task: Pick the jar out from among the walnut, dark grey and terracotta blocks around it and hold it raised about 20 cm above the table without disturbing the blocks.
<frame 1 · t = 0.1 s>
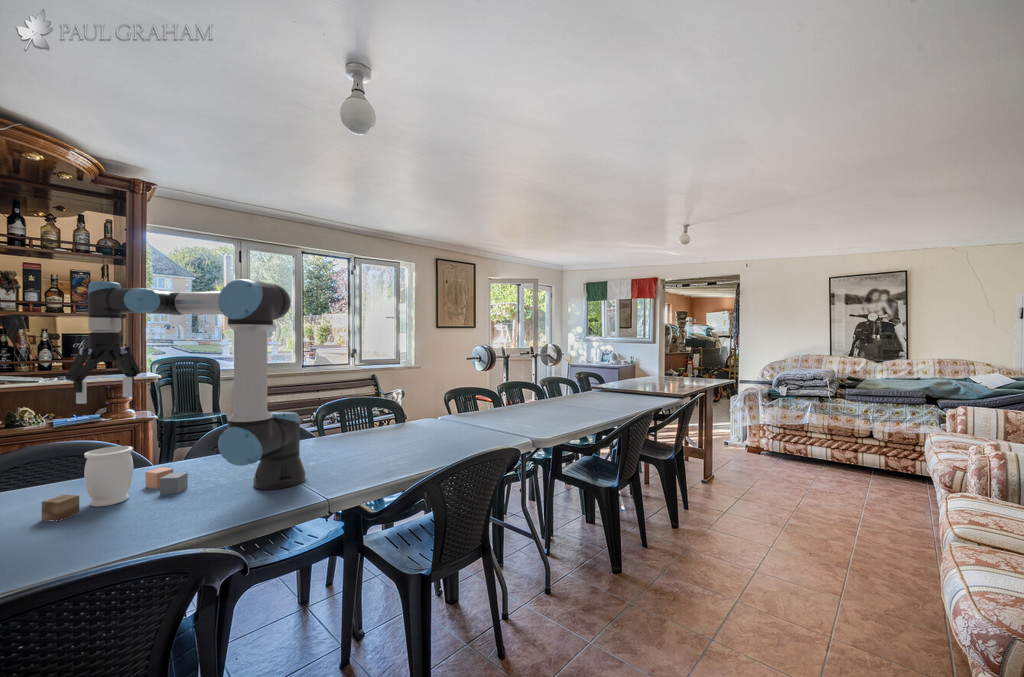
hand: (105, 400, 138), 28 cm above the table, tool pointing down, fingers open, 13 cm apart
walnut block: (60, 517, 118), on the table
grey block: (174, 491, 137), on the table
terracotta block: (159, 485, 142), on the table
jar: (109, 502, 128), on the table
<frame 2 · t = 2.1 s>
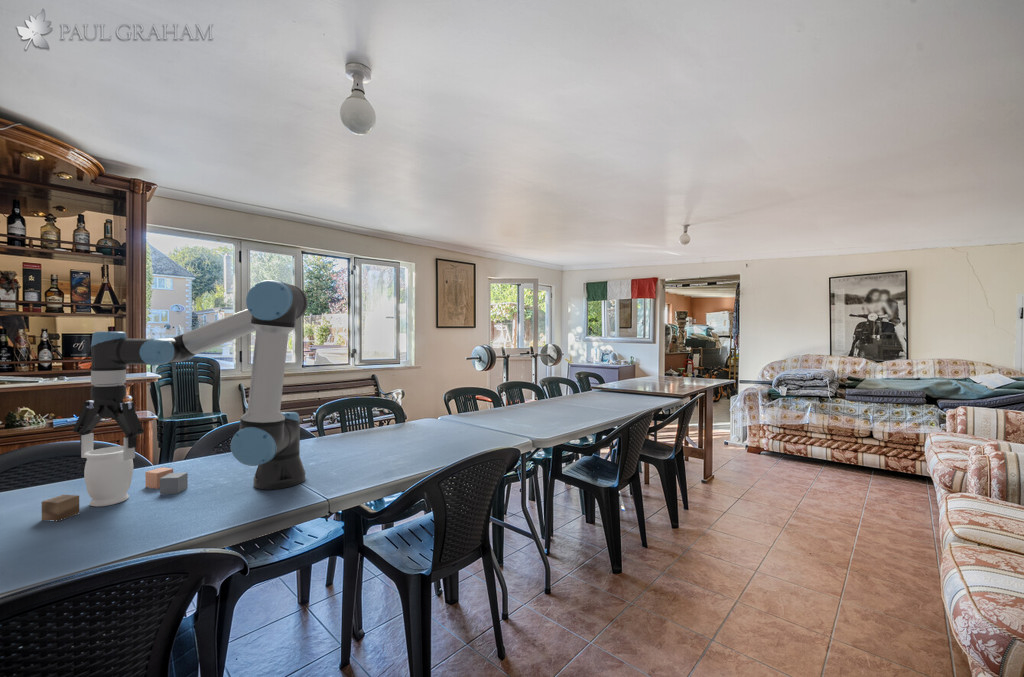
hand: (108, 458, 128), 13 cm above the table, tool pointing down, fingers open, 13 cm apart
nothing on the table moved.
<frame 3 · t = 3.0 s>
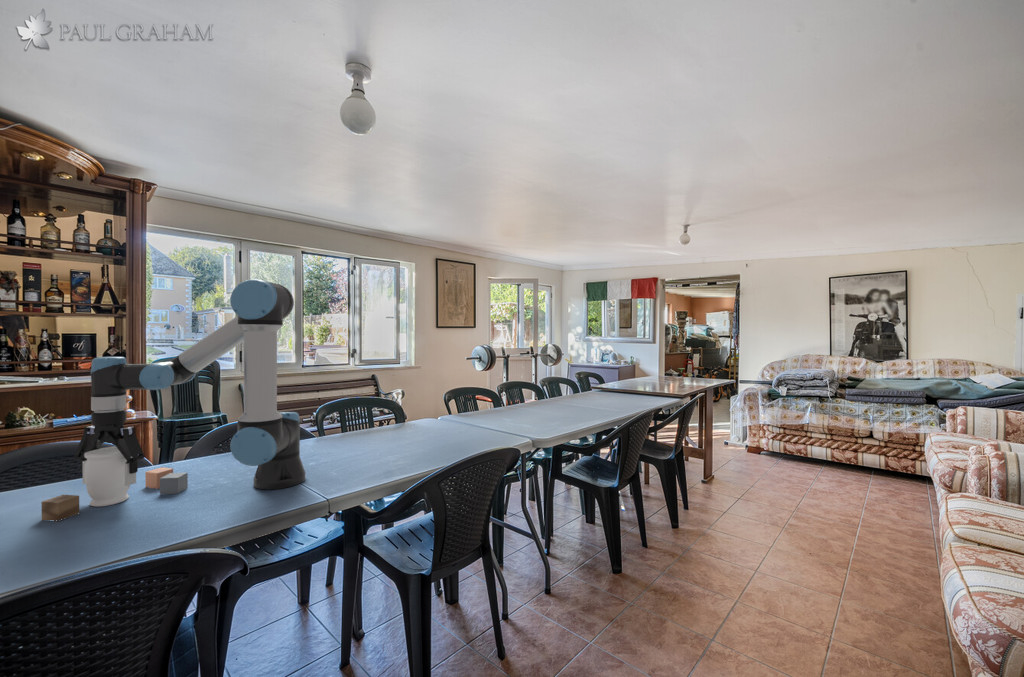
hand: (109, 483, 128), 5 cm above the table, tool pointing down, fingers open, 13 cm apart
nothing on the table moved.
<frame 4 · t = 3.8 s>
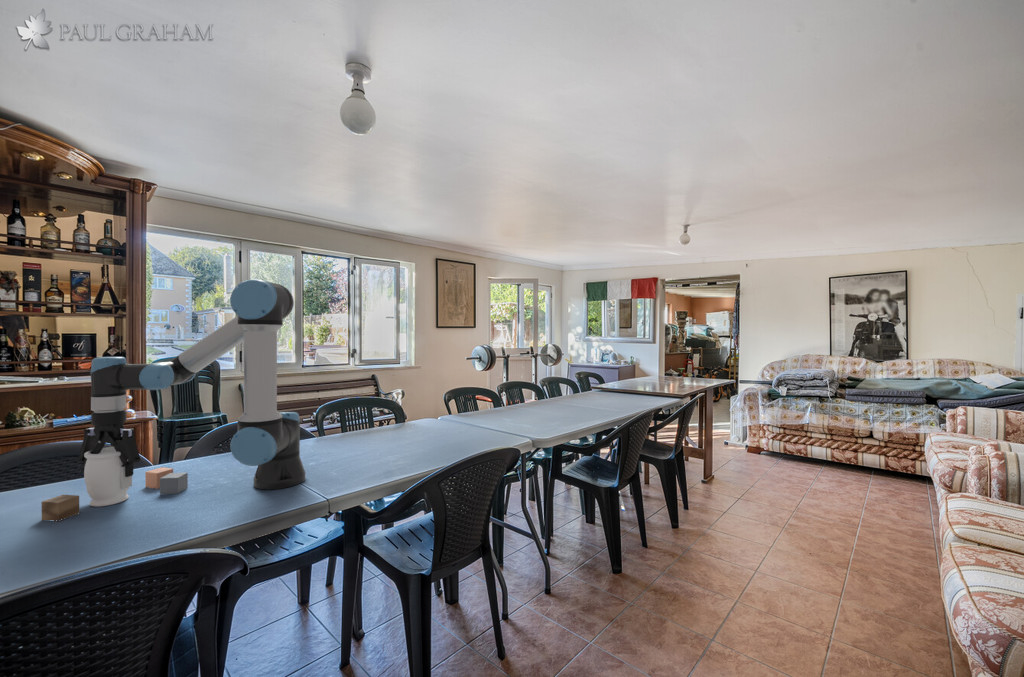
hand: (109, 486, 128), 4 cm above the table, tool pointing down, fingers closed on jar, 10 cm apart
jar: (109, 502, 128), on the table, touching gripper
everything else where it was.
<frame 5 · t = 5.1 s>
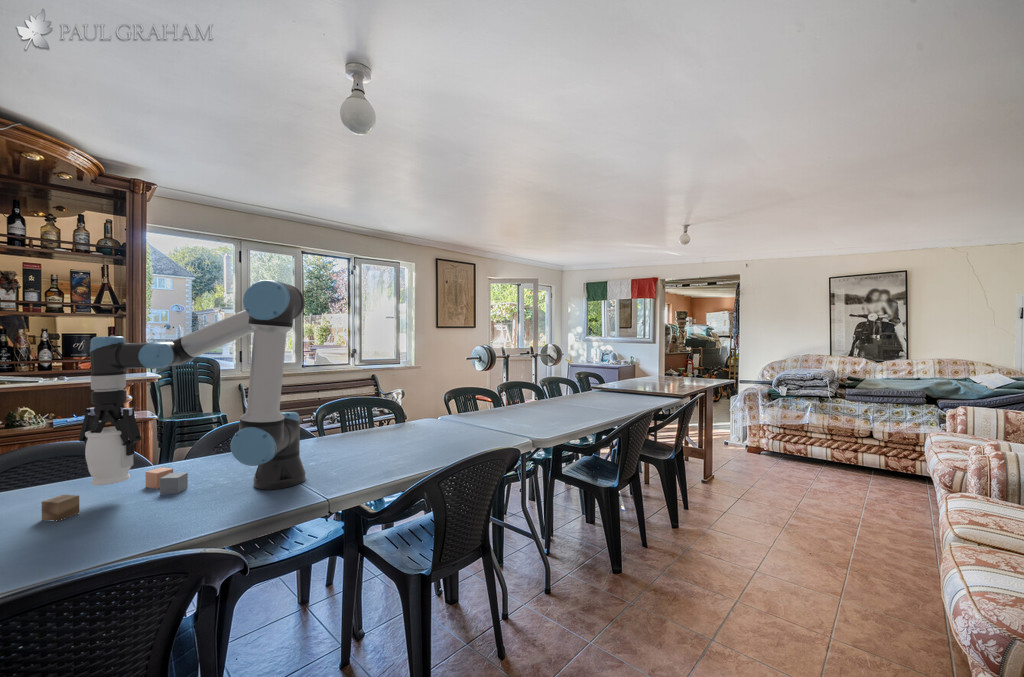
hand: (110, 466, 128), 10 cm above the table, tool pointing down, fingers closed on jar, 10 cm apart
jar: (111, 481, 128), point 6 cm above the table, touching gripper
everything else where it was.
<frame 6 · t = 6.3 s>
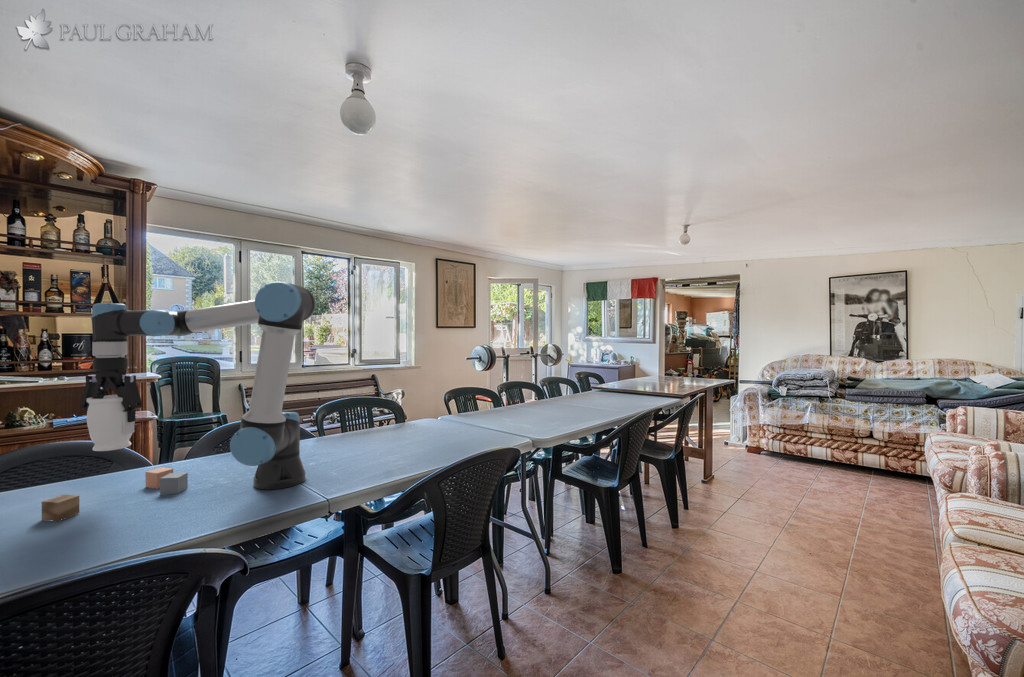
hand: (112, 432, 129), 20 cm above the table, tool pointing down, fingers closed on jar, 10 cm apart
jar: (112, 448, 129), point 15 cm above the table, touching gripper
everything else where it was.
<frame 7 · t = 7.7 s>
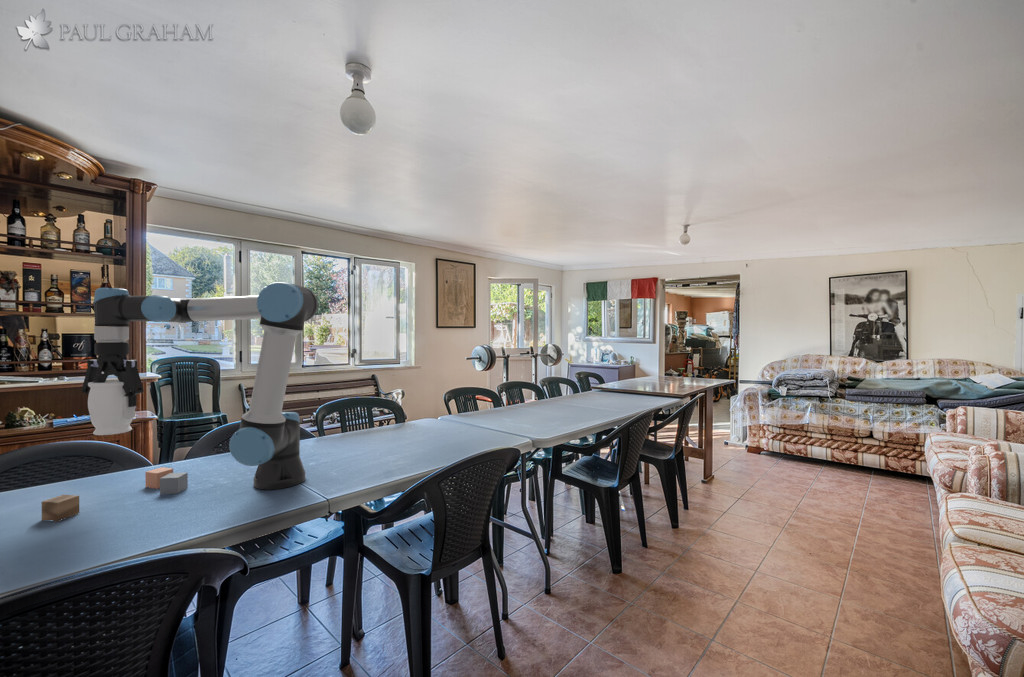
hand: (112, 417, 129), 24 cm above the table, tool pointing down, fingers closed on jar, 10 cm apart
jar: (113, 433, 129), point 20 cm above the table, touching gripper
everything else where it was.
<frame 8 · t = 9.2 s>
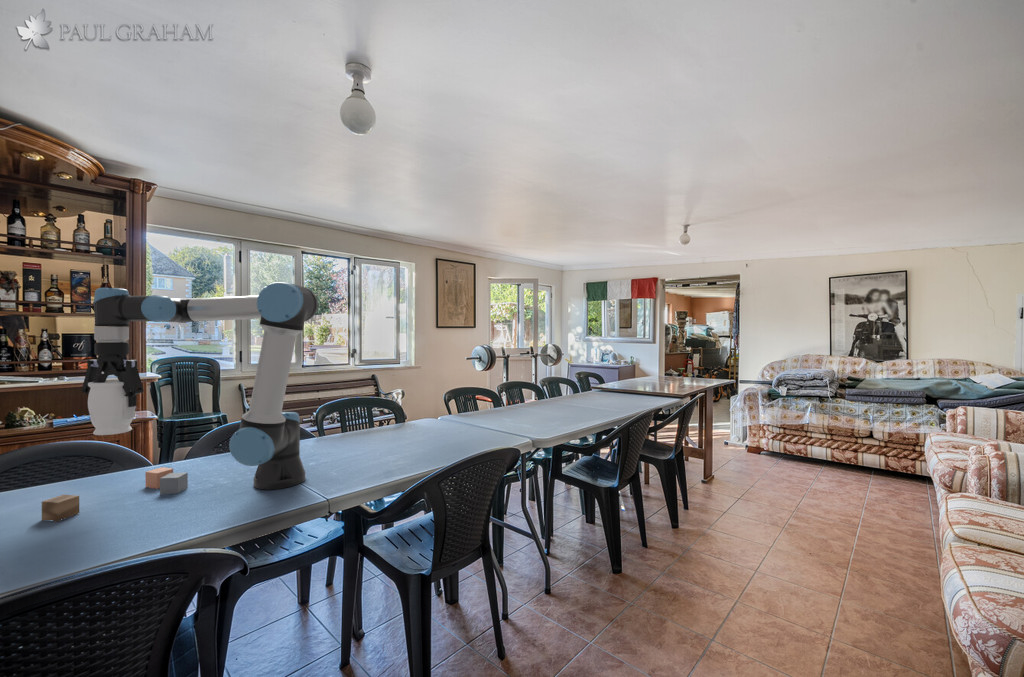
hand: (112, 417, 129), 24 cm above the table, tool pointing down, fingers closed on jar, 10 cm apart
jar: (113, 433, 129), point 20 cm above the table, touching gripper
everything else where it was.
at the end: the gripper is holding jar; jar point 19.7 cm above the table; walnut block moved 0.1 cm from its start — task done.
